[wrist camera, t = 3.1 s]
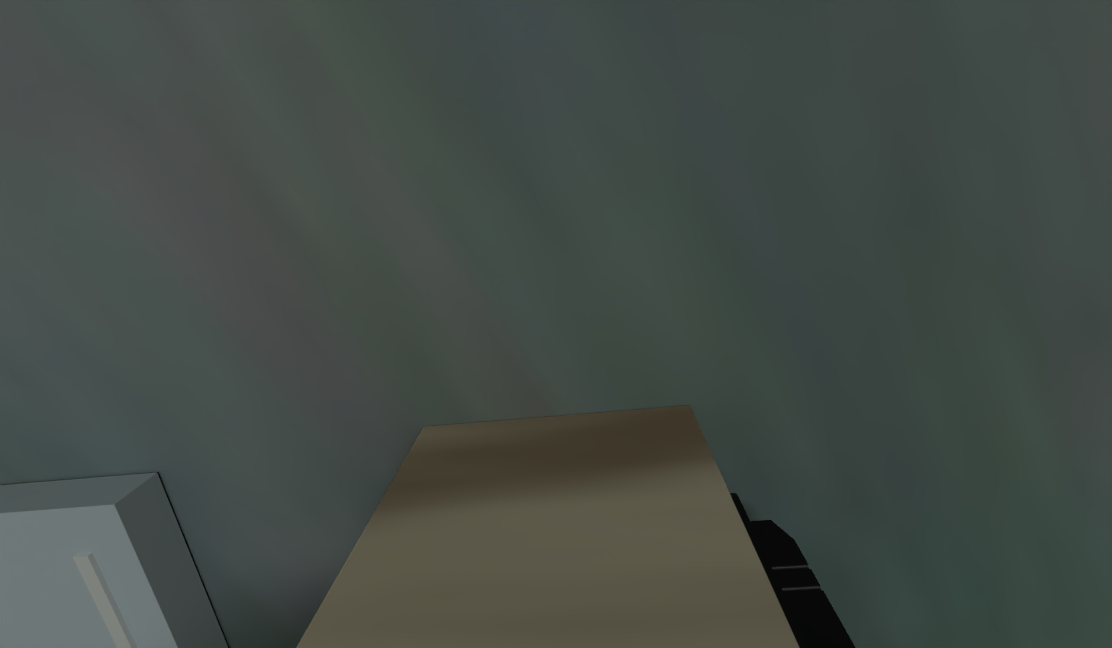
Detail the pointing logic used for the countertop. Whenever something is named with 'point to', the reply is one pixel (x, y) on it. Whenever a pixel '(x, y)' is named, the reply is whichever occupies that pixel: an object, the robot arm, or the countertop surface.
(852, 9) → the countertop surface
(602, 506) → the birch cube
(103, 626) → the base
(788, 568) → the robot arm
